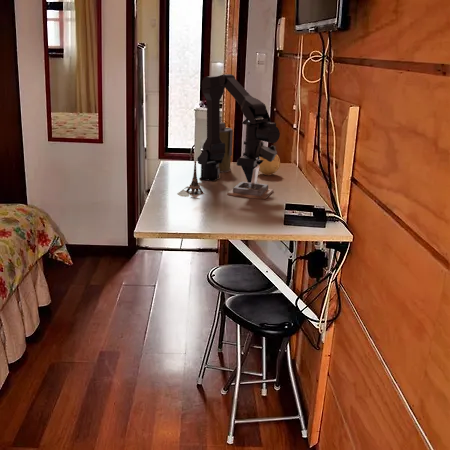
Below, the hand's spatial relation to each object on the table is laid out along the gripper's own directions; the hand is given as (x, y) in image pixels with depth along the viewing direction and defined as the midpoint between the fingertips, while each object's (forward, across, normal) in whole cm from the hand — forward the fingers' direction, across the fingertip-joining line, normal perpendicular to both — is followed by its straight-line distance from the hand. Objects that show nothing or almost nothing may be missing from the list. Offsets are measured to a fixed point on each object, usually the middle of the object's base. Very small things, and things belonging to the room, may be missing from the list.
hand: (251, 181), depth 206 cm
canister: (+5, +30, +23) cm, 38 cm away
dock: (+4, 0, 0) cm, 5 cm away
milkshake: (+3, 0, 0) cm, 3 cm away
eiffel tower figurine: (+5, -9, +19) cm, 22 cm away
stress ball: (+5, +31, +2) cm, 31 cm away
